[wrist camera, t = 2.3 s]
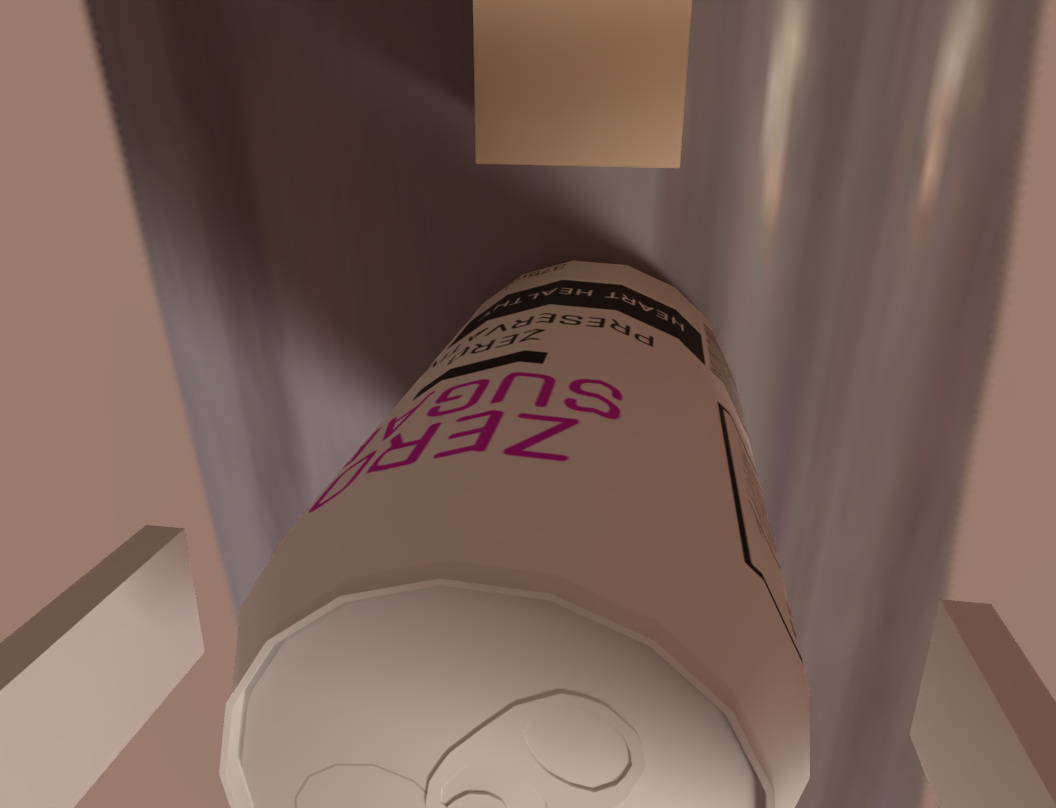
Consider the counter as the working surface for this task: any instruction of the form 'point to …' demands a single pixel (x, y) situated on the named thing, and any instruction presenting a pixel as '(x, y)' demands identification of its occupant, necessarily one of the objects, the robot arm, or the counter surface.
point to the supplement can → (533, 582)
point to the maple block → (580, 81)
